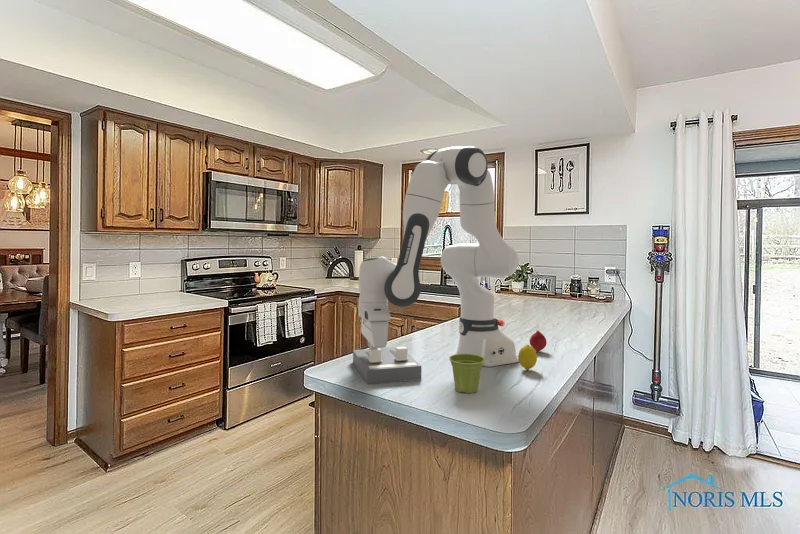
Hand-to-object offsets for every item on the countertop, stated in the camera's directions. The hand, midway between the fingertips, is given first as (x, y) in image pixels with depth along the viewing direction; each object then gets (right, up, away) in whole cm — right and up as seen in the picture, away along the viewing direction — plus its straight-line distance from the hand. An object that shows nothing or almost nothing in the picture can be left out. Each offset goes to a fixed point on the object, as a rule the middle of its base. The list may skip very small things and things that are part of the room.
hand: (372, 355), depth 130 cm
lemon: (+48, -6, +4) cm, 48 cm away
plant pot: (+26, -7, -14) cm, 30 cm away
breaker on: (+9, -1, -1) cm, 9 cm away
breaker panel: (+4, -5, +2) cm, 7 cm away
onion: (+58, -4, +26) cm, 64 cm away
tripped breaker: (+1, -1, -3) cm, 3 cm away
